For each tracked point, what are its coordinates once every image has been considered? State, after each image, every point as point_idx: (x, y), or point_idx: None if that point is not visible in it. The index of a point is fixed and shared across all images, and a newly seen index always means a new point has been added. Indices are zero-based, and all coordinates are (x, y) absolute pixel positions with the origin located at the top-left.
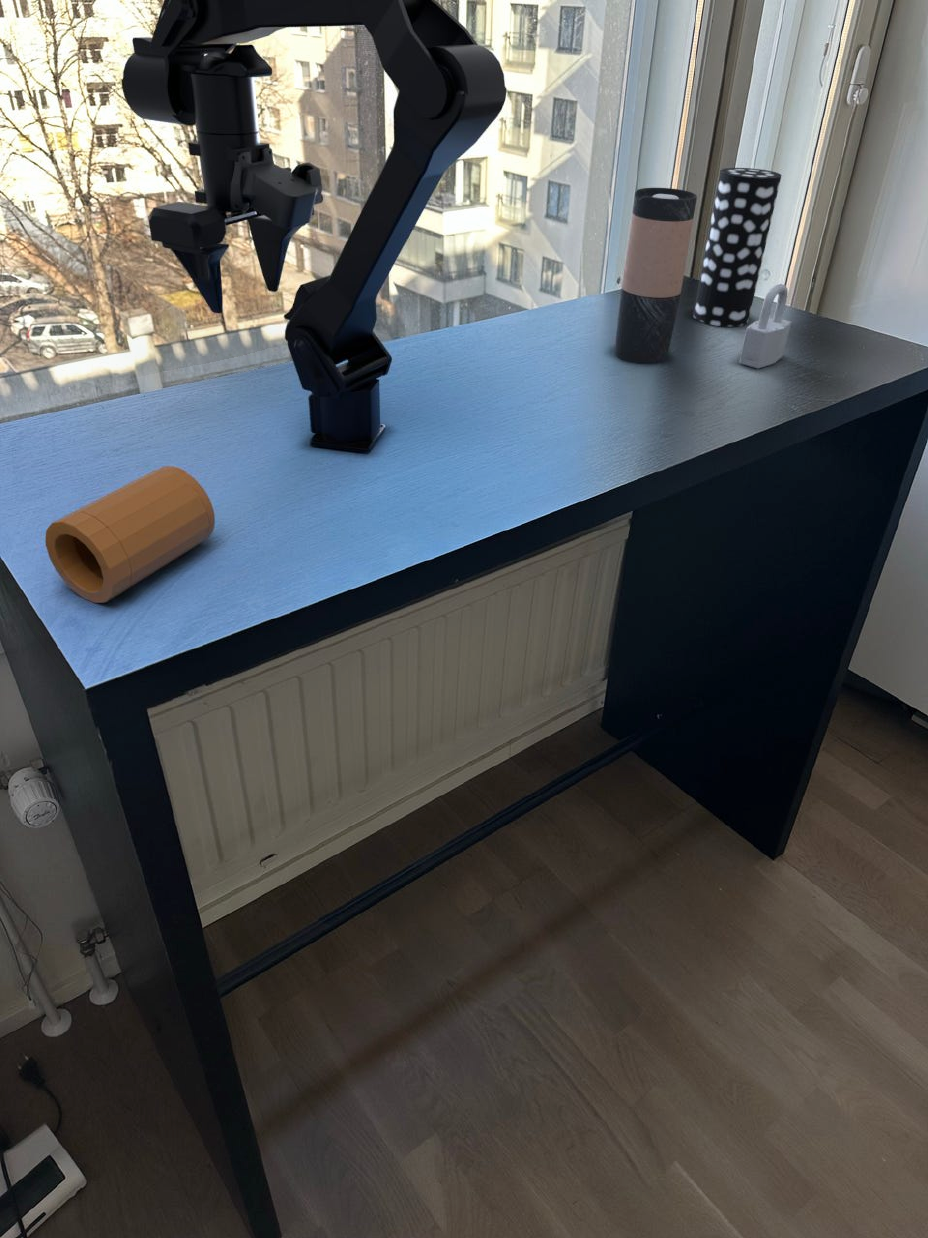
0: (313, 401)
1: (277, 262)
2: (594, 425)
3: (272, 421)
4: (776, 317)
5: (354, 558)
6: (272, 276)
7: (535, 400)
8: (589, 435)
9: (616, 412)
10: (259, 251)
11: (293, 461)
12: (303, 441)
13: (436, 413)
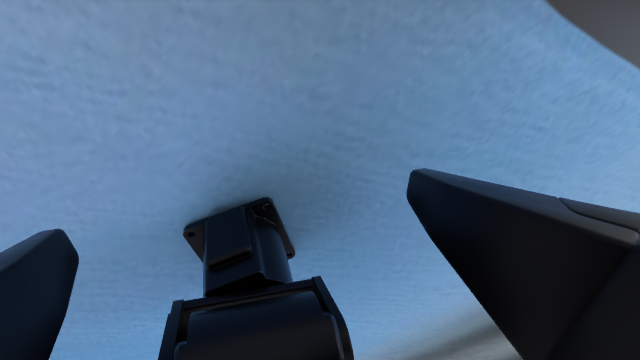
0: (205, 267)
1: (470, 284)
2: (405, 336)
3: (212, 126)
4: None
5: None
6: (434, 226)
7: (443, 287)
8: (384, 344)
9: (439, 330)
10: (533, 236)
11: (128, 242)
12: (190, 209)
13: (370, 254)
